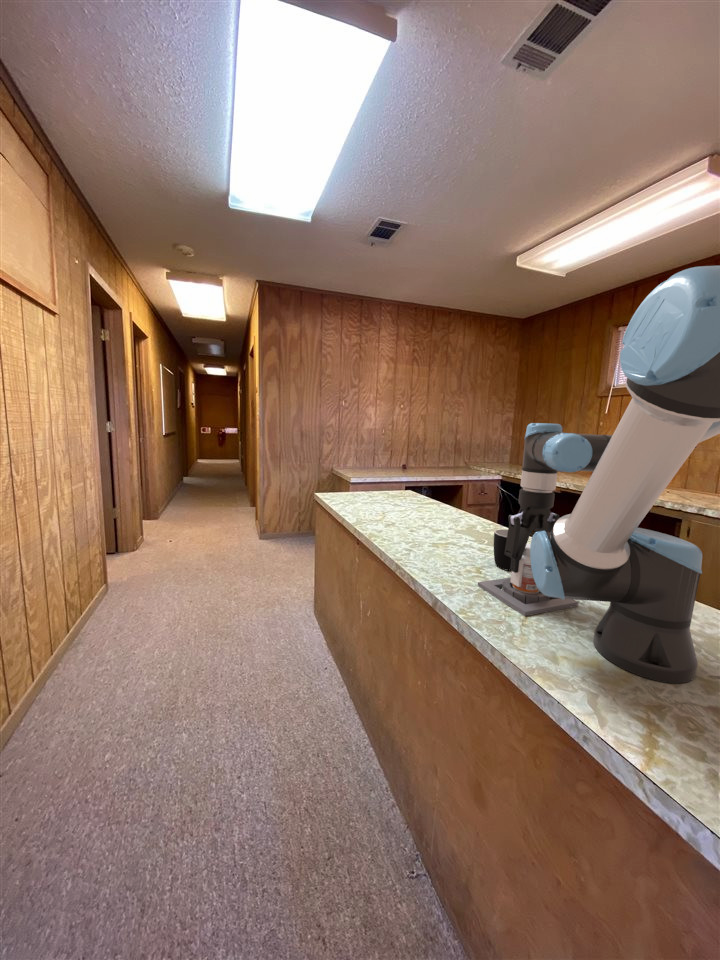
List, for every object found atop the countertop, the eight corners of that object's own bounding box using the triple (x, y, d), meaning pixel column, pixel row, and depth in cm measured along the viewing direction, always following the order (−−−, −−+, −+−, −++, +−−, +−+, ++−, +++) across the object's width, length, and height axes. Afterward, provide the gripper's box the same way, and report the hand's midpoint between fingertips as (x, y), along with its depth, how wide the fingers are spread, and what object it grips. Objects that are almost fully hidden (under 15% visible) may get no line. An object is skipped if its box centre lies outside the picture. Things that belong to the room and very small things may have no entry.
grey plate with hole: (577, 605, 88) (578, 597, 88) (524, 616, 83) (525, 606, 82) (525, 578, 103) (526, 571, 103) (477, 585, 97) (478, 577, 97)
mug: (529, 573, 107) (533, 538, 106) (497, 572, 107) (501, 537, 105) (512, 558, 119) (515, 526, 117) (483, 557, 119) (486, 525, 117)
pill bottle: (520, 582, 97) (524, 540, 95) (544, 591, 92) (549, 547, 91) (507, 588, 93) (511, 545, 91) (531, 597, 88) (537, 552, 87)
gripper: (554, 485, 96) (544, 572, 99) (493, 487, 89) (484, 581, 92) (581, 491, 89) (568, 584, 92) (517, 493, 82) (506, 594, 85)
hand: (526, 582), depth 92 cm, fingers closed on pill bottle, 6 cm apart
